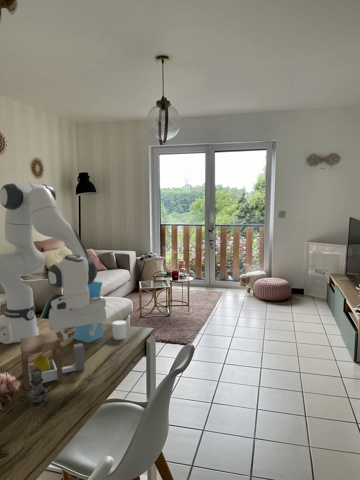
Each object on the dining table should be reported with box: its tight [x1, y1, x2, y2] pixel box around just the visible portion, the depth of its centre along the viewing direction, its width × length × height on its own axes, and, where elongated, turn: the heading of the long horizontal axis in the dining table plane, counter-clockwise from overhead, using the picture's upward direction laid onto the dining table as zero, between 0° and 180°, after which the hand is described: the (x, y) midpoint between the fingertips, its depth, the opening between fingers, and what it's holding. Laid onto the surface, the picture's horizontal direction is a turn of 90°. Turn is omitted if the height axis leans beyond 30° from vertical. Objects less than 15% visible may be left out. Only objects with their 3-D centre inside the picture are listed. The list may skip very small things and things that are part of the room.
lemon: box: [32, 355, 50, 372], centre depth 128 cm, size 6×6×8 cm
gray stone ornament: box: [26, 367, 49, 409], centre depth 112 cm, size 6×6×12 cm
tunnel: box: [20, 332, 64, 391], centre depth 128 cm, size 12×13×13 cm
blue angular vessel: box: [73, 280, 104, 343], centre depth 164 cm, size 10×10×25 cm
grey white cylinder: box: [111, 319, 128, 341], centre depth 165 cm, size 7×7×7 cm
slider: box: [28, 342, 86, 386], centre depth 130 cm, size 19×9×9 cm, turn 116°
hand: (79, 337), depth 133 cm, fingers open, 8 cm apart
